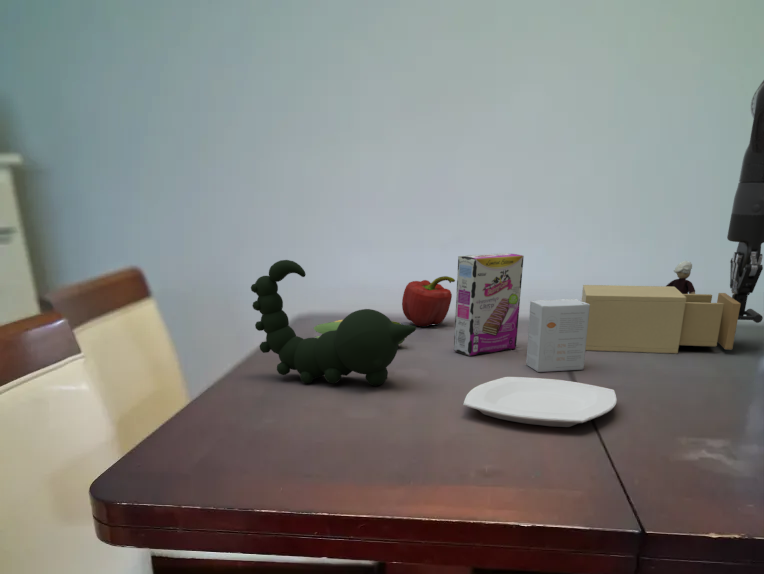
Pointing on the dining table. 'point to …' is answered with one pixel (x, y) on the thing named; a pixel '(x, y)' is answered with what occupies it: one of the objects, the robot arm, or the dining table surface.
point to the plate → (541, 401)
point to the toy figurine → (326, 337)
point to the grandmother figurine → (683, 278)
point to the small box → (557, 335)
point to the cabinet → (634, 318)
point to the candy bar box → (487, 303)
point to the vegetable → (426, 301)
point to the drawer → (712, 320)
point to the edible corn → (335, 328)
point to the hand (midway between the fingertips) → (736, 316)
